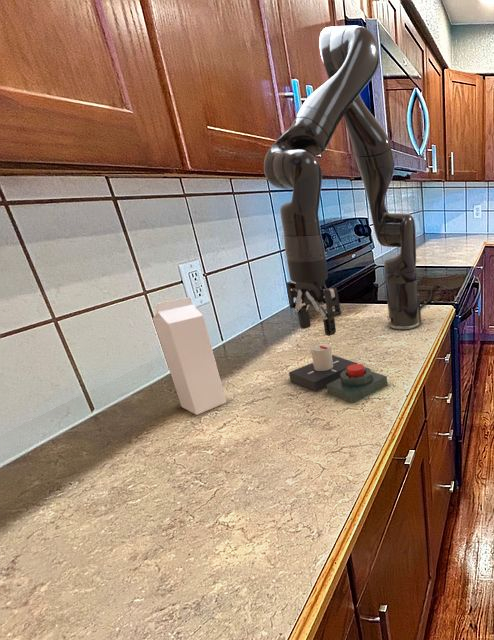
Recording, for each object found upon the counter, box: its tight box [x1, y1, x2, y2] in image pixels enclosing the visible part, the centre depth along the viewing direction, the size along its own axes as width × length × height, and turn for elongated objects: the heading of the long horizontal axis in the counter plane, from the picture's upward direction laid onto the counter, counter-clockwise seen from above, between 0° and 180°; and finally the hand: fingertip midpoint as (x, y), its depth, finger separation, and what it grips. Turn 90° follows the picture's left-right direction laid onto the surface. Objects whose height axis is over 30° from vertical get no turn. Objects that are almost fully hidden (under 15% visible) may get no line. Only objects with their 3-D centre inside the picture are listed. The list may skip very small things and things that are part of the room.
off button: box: [347, 363, 365, 377], centre depth 90 cm, size 4×4×2 cm
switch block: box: [326, 366, 389, 404], centre depth 91 cm, size 10×8×4 cm
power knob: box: [310, 343, 333, 371], centre depth 96 cm, size 4×4×5 cm
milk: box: [152, 296, 227, 416], centre depth 81 cm, size 6×6×22 cm
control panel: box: [288, 354, 358, 393], centre depth 97 cm, size 12×9×3 cm
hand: (317, 331), depth 93 cm, fingers open, 8 cm apart
